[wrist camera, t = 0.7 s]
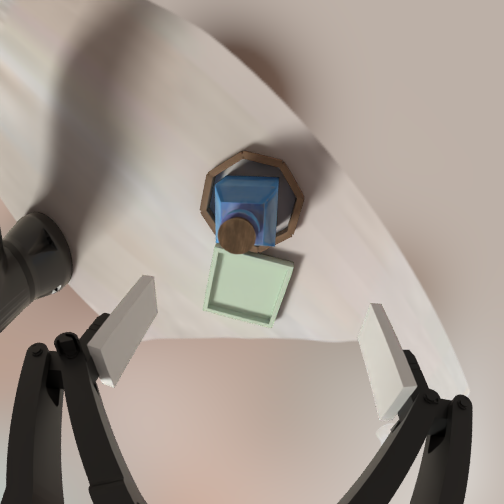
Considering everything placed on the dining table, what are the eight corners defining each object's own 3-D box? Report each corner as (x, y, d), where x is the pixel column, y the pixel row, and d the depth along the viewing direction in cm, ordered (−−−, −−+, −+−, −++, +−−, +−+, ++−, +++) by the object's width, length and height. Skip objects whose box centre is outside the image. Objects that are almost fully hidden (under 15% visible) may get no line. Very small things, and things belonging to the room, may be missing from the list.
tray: (205, 304, 41) (202, 310, 40) (217, 242, 37) (214, 246, 35) (272, 322, 41) (271, 328, 40) (293, 262, 37) (293, 267, 35)
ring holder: (198, 232, 36) (195, 236, 35) (215, 144, 31) (212, 144, 30) (285, 255, 36) (285, 260, 35) (311, 168, 32) (313, 170, 30)
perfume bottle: (226, 175, 33) (198, 198, 22) (278, 177, 32) (276, 201, 22) (226, 224, 36) (201, 268, 25) (276, 227, 35) (272, 273, 24)
